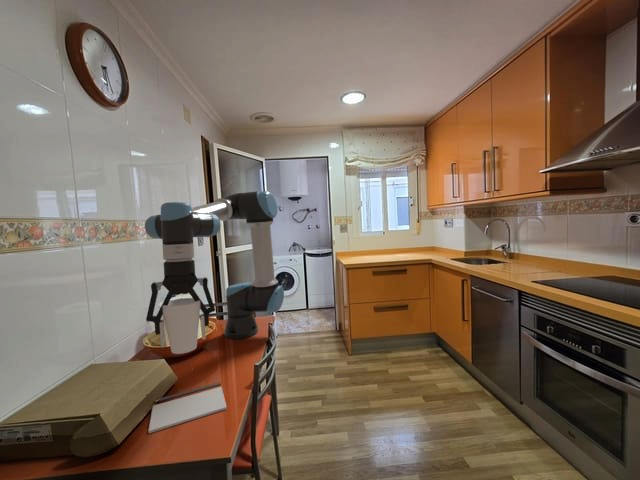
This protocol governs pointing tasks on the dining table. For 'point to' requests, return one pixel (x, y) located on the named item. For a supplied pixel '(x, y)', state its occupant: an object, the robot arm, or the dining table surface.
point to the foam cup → (182, 324)
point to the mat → (186, 409)
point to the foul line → (190, 391)
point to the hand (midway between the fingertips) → (183, 341)
